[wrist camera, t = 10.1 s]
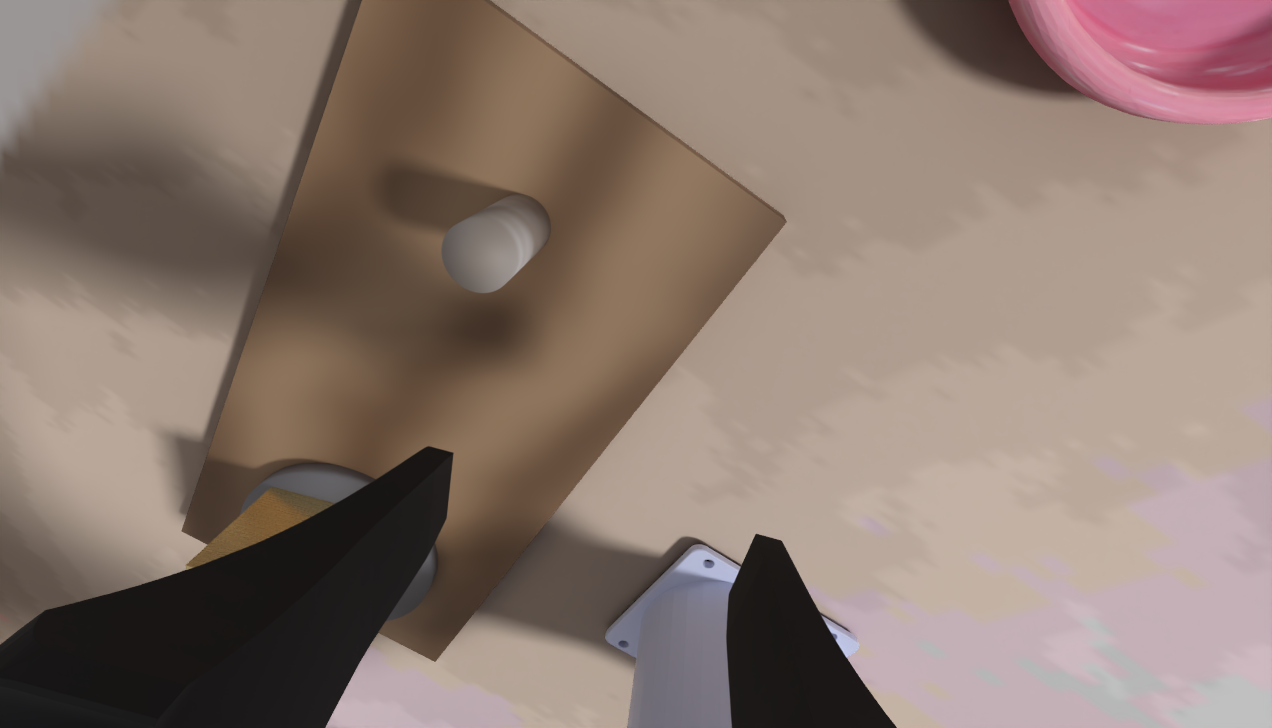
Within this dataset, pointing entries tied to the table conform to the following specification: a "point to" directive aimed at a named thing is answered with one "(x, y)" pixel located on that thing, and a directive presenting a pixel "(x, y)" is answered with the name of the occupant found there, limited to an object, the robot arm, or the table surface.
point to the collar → (261, 522)
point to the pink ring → (1159, 54)
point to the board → (471, 291)
